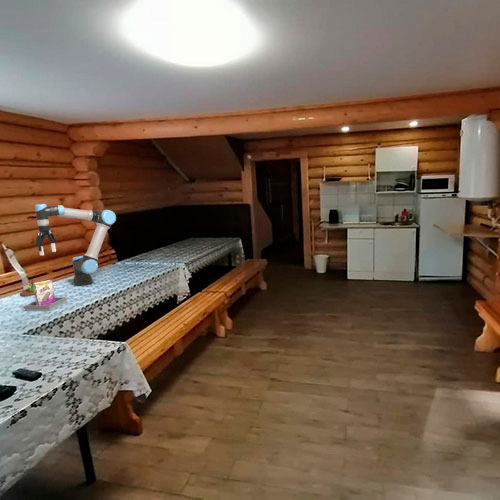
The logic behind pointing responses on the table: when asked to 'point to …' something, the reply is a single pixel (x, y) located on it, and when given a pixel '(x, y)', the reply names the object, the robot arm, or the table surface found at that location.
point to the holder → (57, 303)
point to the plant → (28, 290)
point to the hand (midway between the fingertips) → (48, 253)
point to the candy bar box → (44, 292)
